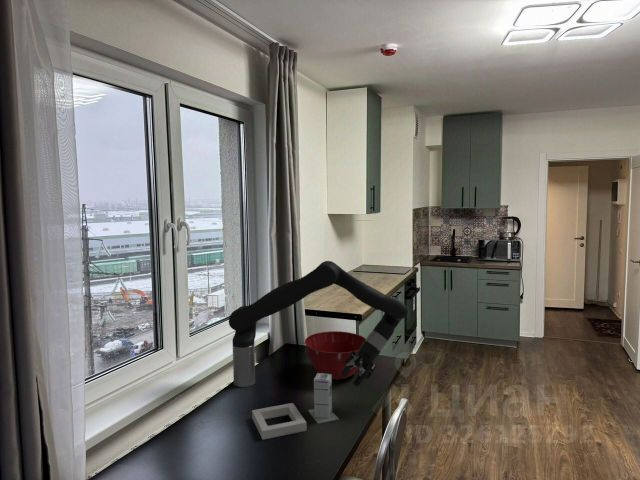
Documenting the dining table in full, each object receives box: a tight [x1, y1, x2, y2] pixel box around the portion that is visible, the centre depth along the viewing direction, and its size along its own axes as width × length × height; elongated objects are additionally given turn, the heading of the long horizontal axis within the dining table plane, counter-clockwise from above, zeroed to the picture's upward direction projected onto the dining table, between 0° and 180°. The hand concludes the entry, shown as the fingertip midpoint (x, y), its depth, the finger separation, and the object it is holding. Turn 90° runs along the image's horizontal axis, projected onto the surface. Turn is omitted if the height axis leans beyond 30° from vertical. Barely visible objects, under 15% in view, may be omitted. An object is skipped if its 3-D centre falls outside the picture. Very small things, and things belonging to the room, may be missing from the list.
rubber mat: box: [307, 408, 340, 425], centre depth 166 cm, size 10×8×1 cm
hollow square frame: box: [251, 402, 308, 441], centre depth 160 cm, size 16×16×3 cm
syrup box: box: [313, 372, 333, 418], centre depth 165 cm, size 6×6×14 cm
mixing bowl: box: [304, 330, 367, 381], centre depth 203 cm, size 28×28×15 cm
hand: (348, 380), depth 171 cm, fingers open, 8 cm apart
